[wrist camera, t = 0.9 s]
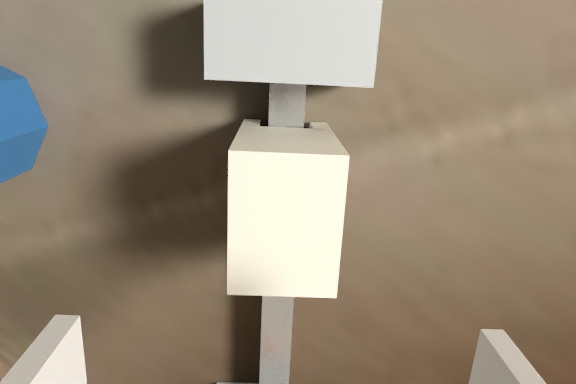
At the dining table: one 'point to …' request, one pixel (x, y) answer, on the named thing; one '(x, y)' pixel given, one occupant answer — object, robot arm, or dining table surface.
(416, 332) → the dining table surface
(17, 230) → the dining table surface
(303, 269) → the block
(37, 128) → the water bottle
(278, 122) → the rail
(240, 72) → the block
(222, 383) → the grey block with recess
